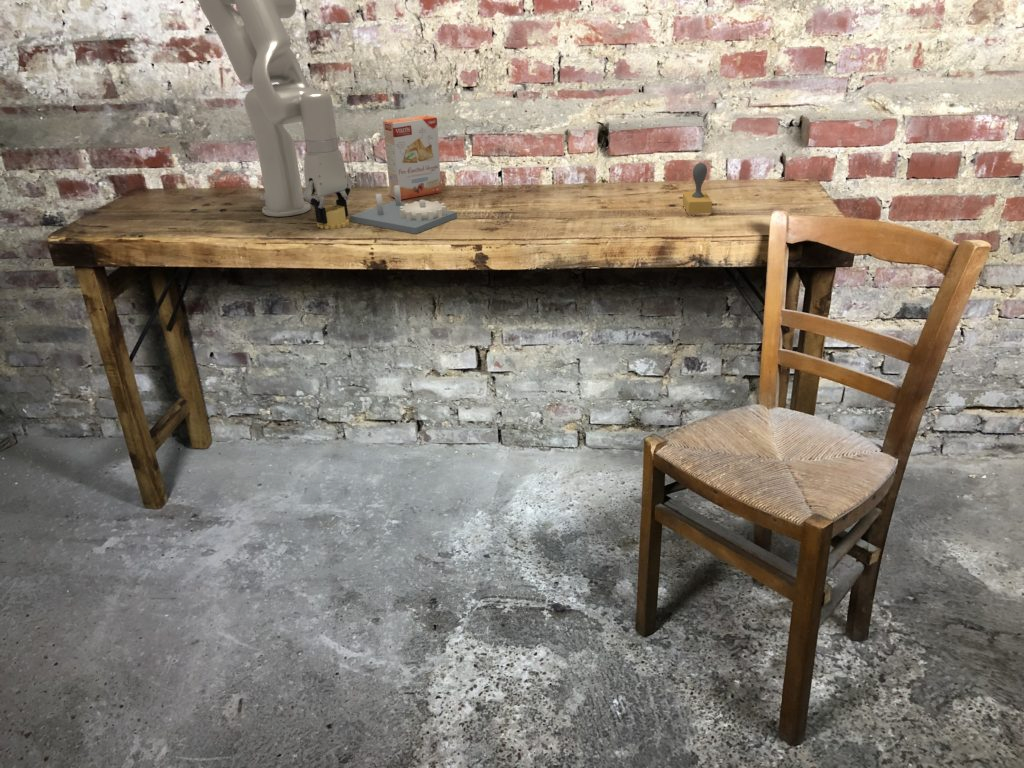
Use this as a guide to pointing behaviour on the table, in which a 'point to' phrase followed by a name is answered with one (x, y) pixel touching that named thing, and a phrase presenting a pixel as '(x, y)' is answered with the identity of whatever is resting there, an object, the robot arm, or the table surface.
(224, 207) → the table surface
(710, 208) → the rubber stamp
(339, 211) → the gear
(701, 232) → the table surface
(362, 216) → the gear board
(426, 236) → the table surface
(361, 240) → the table surface
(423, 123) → the cracker box
